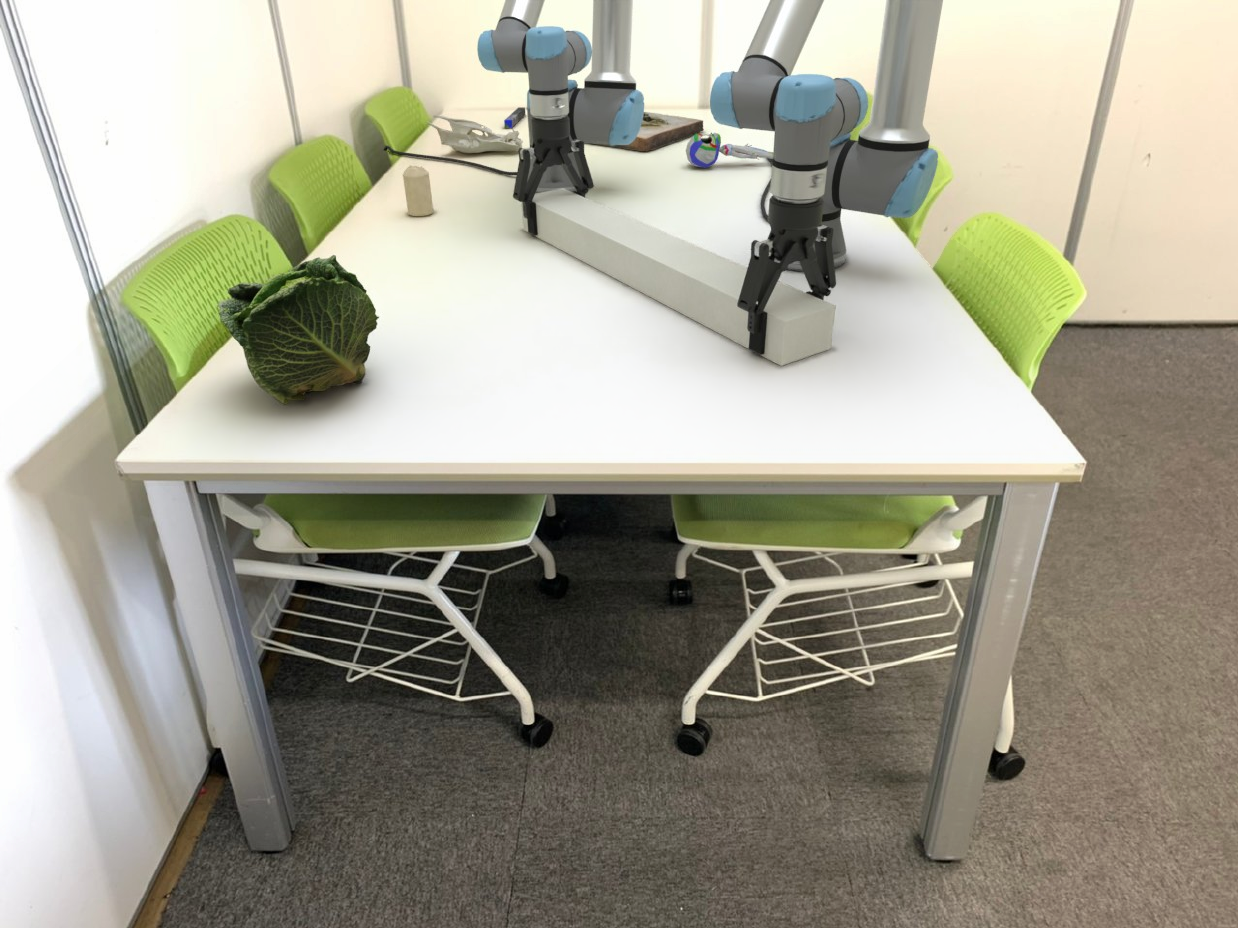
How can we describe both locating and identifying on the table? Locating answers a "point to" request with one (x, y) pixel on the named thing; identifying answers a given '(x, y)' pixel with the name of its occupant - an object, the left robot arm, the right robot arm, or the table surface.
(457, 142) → the anatomical model
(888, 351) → the table surface
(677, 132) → the plaque
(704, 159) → the toy
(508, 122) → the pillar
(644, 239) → the light grey rectangular bar
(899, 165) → the right robot arm
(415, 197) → the candle
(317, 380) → the vegetable
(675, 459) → the table surface
